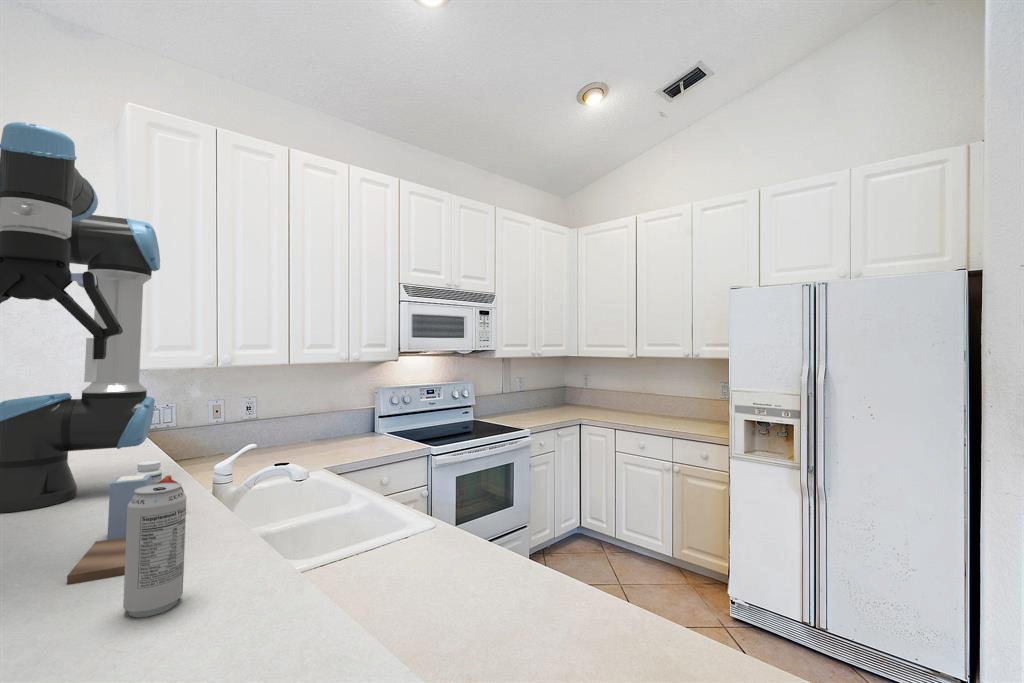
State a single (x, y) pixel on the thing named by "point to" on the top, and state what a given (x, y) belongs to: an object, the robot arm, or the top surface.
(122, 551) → the board
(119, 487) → the block
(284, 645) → the top surface
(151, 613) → the energy drink can
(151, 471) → the pill bottle
